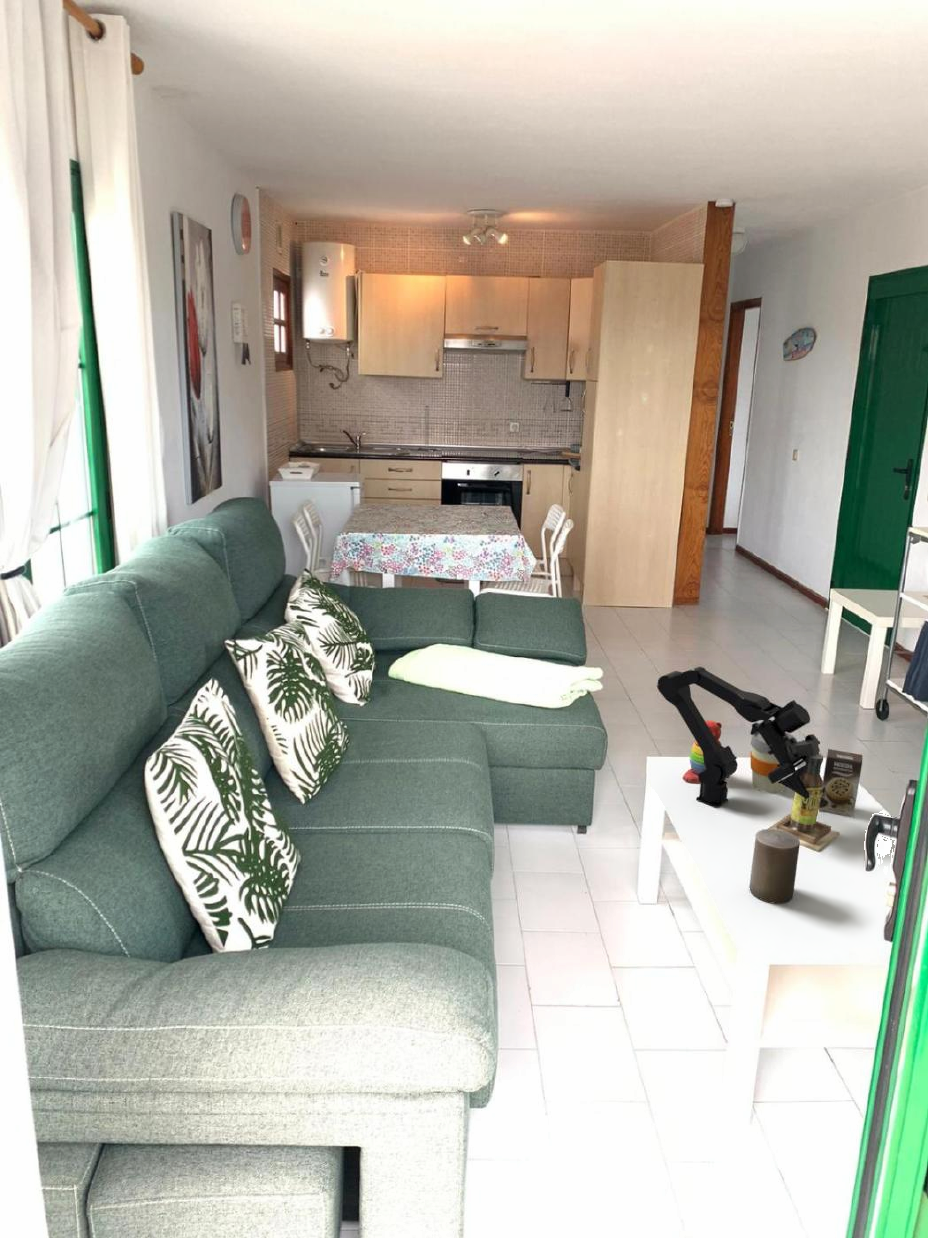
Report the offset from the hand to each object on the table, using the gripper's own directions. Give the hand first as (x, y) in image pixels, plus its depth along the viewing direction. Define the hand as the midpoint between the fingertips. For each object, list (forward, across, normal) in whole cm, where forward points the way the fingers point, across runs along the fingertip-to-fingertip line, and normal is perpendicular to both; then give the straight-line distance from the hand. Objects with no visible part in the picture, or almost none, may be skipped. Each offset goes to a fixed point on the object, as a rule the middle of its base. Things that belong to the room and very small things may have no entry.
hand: (813, 794), depth 245 cm
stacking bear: (-17, +11, +34) cm, 39 cm away
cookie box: (+8, +20, +8) cm, 23 cm away
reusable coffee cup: (-6, +21, +23) cm, 31 cm away
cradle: (+7, 0, +9) cm, 11 cm away
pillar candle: (+12, -33, +4) cm, 36 cm away
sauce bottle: (+6, 0, +8) cm, 10 cm away
